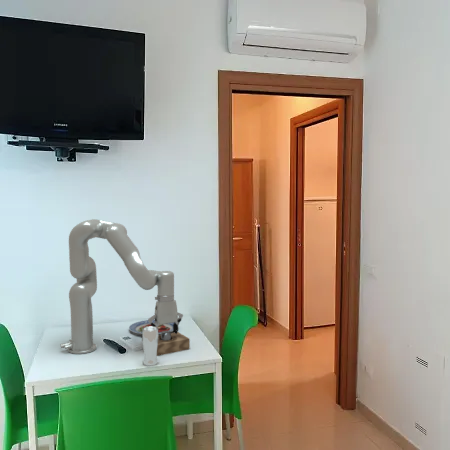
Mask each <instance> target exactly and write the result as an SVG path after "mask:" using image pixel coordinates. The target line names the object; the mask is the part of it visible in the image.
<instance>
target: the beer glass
mask: <svg viewBox="0 0 450 450" xmlns="http://www.w3.org/2000/svg"><path fill="white" fill-rule="evenodd" d="M158 341H159V336H158V328H157V327H153V326H149V327H144V328H143V329H142V334H141V343H142V350H143V361H142V363H143V365H144V366H147V367H148V366H149V367H150V366H156V365H157V364H159V363H158V356H157V348H158Z"/></svg>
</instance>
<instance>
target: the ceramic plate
mask: <svg viewBox="0 0 450 450" xmlns="http://www.w3.org/2000/svg"><path fill="white" fill-rule="evenodd" d="M152 322H153V324H154V323H155V319H154V320H153V321H152ZM173 324H174V323H168V324H159V326H158V327H157V328H158V335H161V332H162V331H170V332H171V333H172V332H173ZM149 326H151V325H150V323H149V321H148V319H144V320H140V321H136V322H134V323H132V324H130V325H129V327H128V330H129V331H130V332H133V333H135V334H138V335H142V329H143V328H144V327H149Z"/></svg>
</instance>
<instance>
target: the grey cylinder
mask: <svg viewBox="0 0 450 450" xmlns="http://www.w3.org/2000/svg"><path fill="white" fill-rule="evenodd" d="M171 333H172V331H171V332H170V331H162V332H161V334H160V335H161V340H163V341H168V340H171Z"/></svg>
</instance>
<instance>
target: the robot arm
mask: <svg viewBox="0 0 450 450" xmlns="http://www.w3.org/2000/svg"><path fill="white" fill-rule="evenodd" d="M95 238H99V239H103V240H106V241H107V242H108V243H109V244H110V246H111V247H112V248H113V250H114V251H115V252H116V254H117V255H118V257H120V259H121V260H122V262H123V264H124V266H125V267H126V269H127V271H128V273H129V274H130V276H131V277H132V278H133V280H134V281H135V283H136V284H137V286H139V287H140V288H141V289H143V290H144V291H149V290H152V289H153V288H154V287H155V286H157V295H156V296H154V300H155V301H156V303H155V308H154V314H153V315H152V316H151V317H149V318H148V319H147V320H148V321H149V323H150V325H151V326H153V327H158V326H159V324H168V323H174V324H173V331H172V333H176V334H177V332H179V325H180V323H181V322H182V319H183V317H184V314H183V313H180V312H178V304H177V301H176V300H175V273H174V272H173V271H170V270H162V271H160V270H153V269H149V270H148V268H147V267H146V265H145V264H144V262H143V260H142V258H141V255H140V251H139V248H138V247H137V246H136V245H135V243H134V242H133V240H132V239H131V238H130V237H129V236H128V230H127V228H126V226H124V225H123V224H121V223H118V222H112V221H107V220H101V219H93V218H92V219H88V220H83V221H80V222H79V223H77V224H76V225H75V226H74V227H72V229H71V230H70V233H69V235H68V250H69V251H68V253H69V255H68V256H69V259H68V260H69V272H70V275H71V277H73V278H74V279H76V282H75V283H74V284H72V286H71V287H70V289H69V292H68V299H69V308H70V335H71V336H70V339H69V341H68V342H64V343H60V349H65V350H66V349H67V352H68V353H71V354H75V355H80V354H83V355H84V354H88V353H93V352H94V351H95V350H97V347H98V346H97V344H95V343H94V323H93V322H94V319H93V317H94V315H93V303H92V297H93V296H94V295H95V293H97V289H98V281H97V265H96V261H95V259H93V257H91V256H90V254H89V253H90V249H89V244H88V243H89V240H92V239H95ZM153 320H155V323H154V324H153V322H152V321H153Z"/></svg>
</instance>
